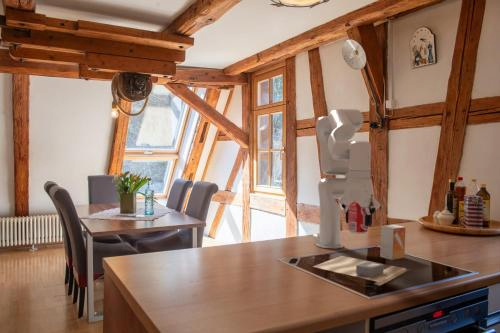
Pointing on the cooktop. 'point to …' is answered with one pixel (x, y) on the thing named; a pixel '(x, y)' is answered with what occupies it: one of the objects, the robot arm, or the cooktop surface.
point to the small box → (392, 242)
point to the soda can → (357, 219)
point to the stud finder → (369, 269)
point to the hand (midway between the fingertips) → (358, 223)
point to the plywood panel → (349, 268)
